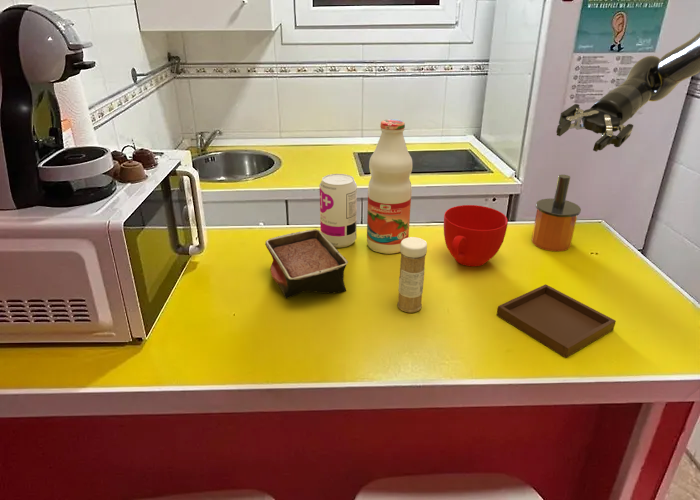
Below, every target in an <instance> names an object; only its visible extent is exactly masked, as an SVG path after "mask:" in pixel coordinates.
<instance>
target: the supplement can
mask: <svg viewBox="0 0 700 500" xmlns="http://www.w3.org/2000/svg"><path fill="white" fill-rule="evenodd" d="M318 186H319V222H320V224H319V225H320V231H321V232H322V233H323V234H324V236H325V237H326V238H327V239H328V240H329V241H330V242H331V244H332V245H333V246H334V247H335V248H336V249H339V248H340V249H341V248H346V247H349V246H351V245H353V244H354V243H355V242H356V240H357V223H358V221H357V217H358V215H357V214H358V212H357V211H358V210H357V209H358V208H357V207H358V185H357V182H356V180H355V178H354V176H352V175H349V174H346V173H331V174H327V175H325V176H322V178H321V181H320V183H319V185H318Z"/></svg>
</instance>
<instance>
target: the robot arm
mask: <svg viewBox="0 0 700 500" xmlns="http://www.w3.org/2000/svg"><path fill="white" fill-rule="evenodd" d="M699 73H700V31H699V32H698V33H697V34H696V35H695V36H693V37H692V38H691V39H689V40H687V41H686V42H684V43H682V44H680V45H679V46H677V47H675V48H674V49H672V50H670V51H668V52H667V53H665V54H664V55H662V57H661V58H659V56H655V55H648V56H644V57H642V58H641V59H639V60H638V61H637V62H636V63H635V64H634V65H632V67H631V68H630V70H629V71H628V74H627V75H626V78H625V79H624V81H623V82H622V83H620V84H619V85H618V86H617V87H615V88H613V89H611V90H610V91H609V92H607V93H606V94H604V96H602V97H601V98H600V99H598V100H597V101H596V102H595V103H594V104H593V105H592V106H591V107H589V108H588V109H581V108H580V104H578V103H575V104H573V105H571V106H570V107H568V108H566V109H565V110H564V111H562V112H561V113H560V116H559V119H558V125H557V126H556V127H557V128H556V131H555V132H556V136H558V137H561V136H562V135H564V134H566V133H567V132H568V131H569V130H572V129H575V130H577V131H579V130H587V131H591V132H593V133H594V134H596V135H599V134H600V137H599V139H597V140H596V141H595V142H594V145H593V148H592V151H594V152H598V151H602V150H604V149H605V148H606V147H607V146H611V145H613V146H614V147H615V148H620V147H621V146H622V145H623V144H624V143H625V142H626V141H627V140H628V138H630V136H631V134H632V132H633V129H634V124H633V123H628V124H626V125H624V124H625V123H626V122H628V121H629V120H630V119H631V118H633V116H634V115H635V114H636V113H637V112H638V111H639V110H640V109H641V108H642V107H643V106H645V105H646V104H647V103H648V102H658V101H661V100H663V99H664V98H665V97H667V96H668V95H670V93H672V91H674V89H675V88H676V87H677V86H678V84H680V83H682V82H683V81H685V80H687V79H689V78H692V77H693V76H696V75H698V74H699ZM572 122H573V123H572ZM617 131H618V134H617V135H615V134H614V132H617Z"/></svg>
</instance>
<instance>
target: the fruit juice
mask: <svg viewBox="0 0 700 500" xmlns="http://www.w3.org/2000/svg"><path fill="white" fill-rule="evenodd" d="M379 125H380V131H381V134H380V136H379V139H378V141H377V143H376V146H375V149H374V151H373V153H372V154H371V155H370V158H369V162H368V167H369V172H370V179H369V181H368V186H367V208H366V210H367V211H366V212H367V214H366V244H367V246H368V249H370V250H371V251H373V252H376V253H379V254H384V255H385V254H386V255H392V254H398V253H401V252H400V246H401V241H402V240H403V239H405V238H408V237H410V223H411V222H410V221H411V207H412V192H413V191H412V190H413V189H412V183H411V179H410V176H411V175H412V172H413V157H412V156H411V154H410V152H409V150H408V147H407V143H406V140H405V136H404V131H405V128H406V122H405V121H404V120H401V119H393V118H392V119H391V118H389V119H383V120H381V121H380V124H379Z"/></svg>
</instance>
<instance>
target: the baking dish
mask: <svg viewBox="0 0 700 500" xmlns="http://www.w3.org/2000/svg"><path fill="white" fill-rule="evenodd" d="M264 245H265V247H266V249H267V251H268V253H269V254H270V255H271V258H272V261H271V264H270V274H271V278H272V279H273V281H274V282H275V283H276V285H277V286H278V287H279V289H280V290H281V291H282V294H283V296H284V297H285V299H288V298H291V297H294V296H297V295H299V294H301V293H305V292H306V293H317V294H319V293H320V294H338V293H344V292H345V293H346V292H347V288H346V285H345V281H344V278H345V275H344V274H345V270H346V267H347V265H348V264H349V261H348V260H347V258H346V257H345V256H343V254H342V253H341V252H340V251H339V250H338V248H336V247H334V246H333V245H332V244H331V242H330V241H329V240H328V239H327V238H326V237H325V236H324V234H323V233H322V232H321V230H319V229H317V228H316V229H307V230H300V231H296V232H291V233H286V234H282V235H278V236H275V237H271V238H268V239H267V240H265V244H264Z"/></svg>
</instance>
